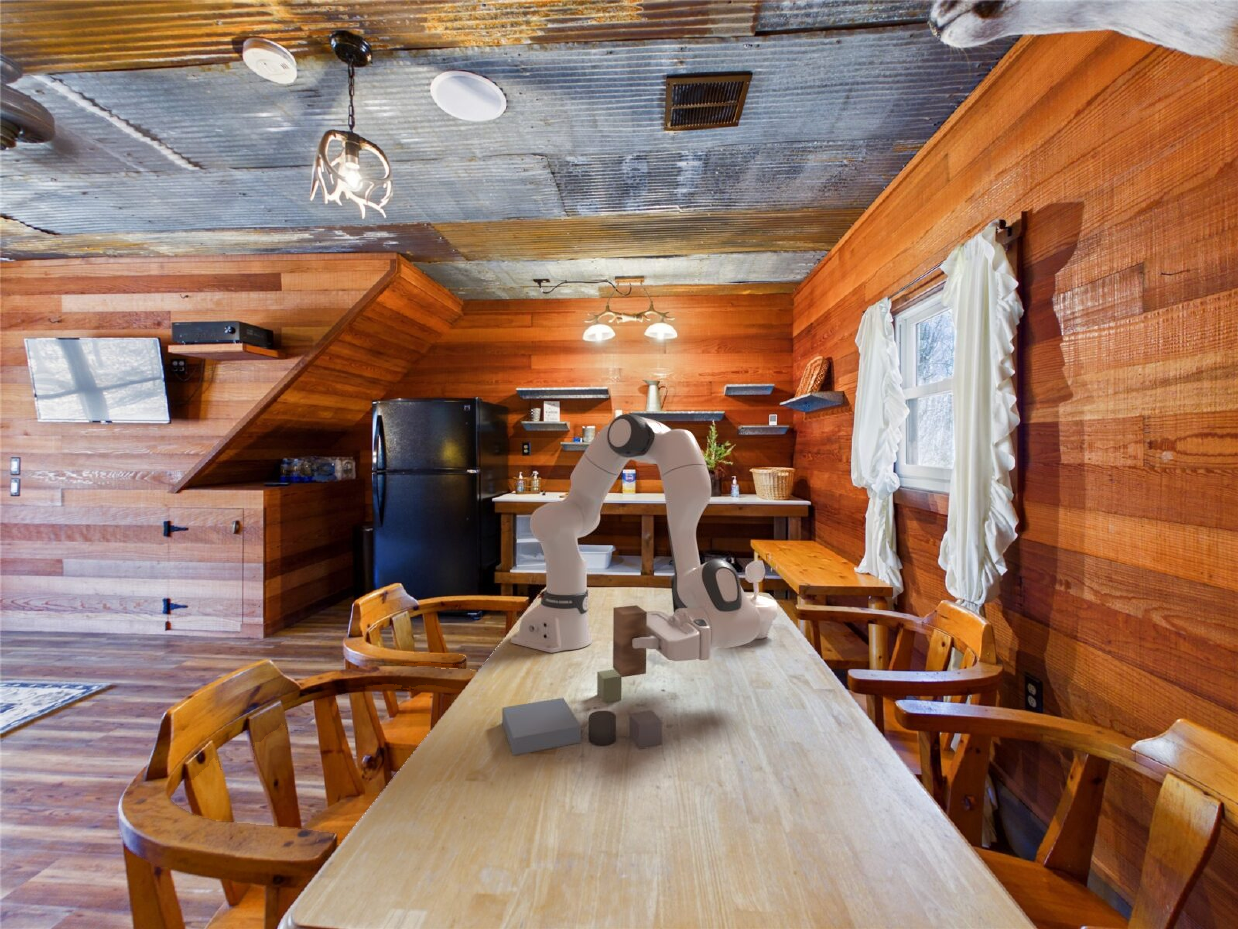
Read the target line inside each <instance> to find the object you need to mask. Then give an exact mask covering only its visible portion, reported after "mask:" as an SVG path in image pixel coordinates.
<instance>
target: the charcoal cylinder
mask: <svg viewBox="0 0 1238 929" xmlns="http://www.w3.org/2000/svg"><path fill="white" fill-rule="evenodd" d="M587 729H588V732H587V733H588V734H587V735H588V738H587V739H588V742H589V743H590V744H591V745H593V746H596V747H597V746H598V747H607V746H611V745H612V744H614V743H615V742H616V740H617V715H616V713H614V712H612V711H608V710H597V711H593V712H591V713H590V714H589V715H588V728H587Z"/></svg>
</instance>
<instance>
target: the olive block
mask: <svg viewBox="0 0 1238 929" xmlns="http://www.w3.org/2000/svg"><path fill="white" fill-rule="evenodd" d="M596 676H597V677H596V678H597V679H596V680H597V681H596V682H597V683H596V684H597V685H596V686H597V687H596V690H597V691H596V692H597V694H596V695H597V696H598V697H599V699H600V700H601V701H602V703H604V704H605V703H611V702H615V701H621V700H622V690H623V689H622V688H623V687H622V683H623V682H622V681H623V680H622V678H623V677H621V676H620V674H619V673H618V672H617V671H616V670H615V669H614V668H613V669H608V670H607V669H606V670H600V671H597V675H596Z"/></svg>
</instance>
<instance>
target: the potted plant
mask: <svg viewBox="0 0 1238 929" xmlns="http://www.w3.org/2000/svg"><path fill="white" fill-rule="evenodd" d="M768 558H769V560H768V561H771V559H772V557H771V554H769V556H768ZM775 568H776V571H777V570H778V568H779V567H778V564H775ZM770 571H771V573H772V571H773V567H772V566H771V568H770ZM744 572H745V574H744V576H745V577H744V578H745V581H747V582H748V583H752V585H753V595H746V596H747V598H748V599H749V601H750V602H752V603H753V604H754V605H755V606H756V607H757V609H758V611H759V613H760V617H761V626H760V631H759V633H758V635H757V637H756V638H755V639H754V640H759V639H765V638H767V637H768V636H769V633H770V630H771V627H772V624H773V621H774V620H776V619H777V617H778V603H777V601H775V600H774V599H770V598H769V597H766V596H762V595H759V593H760V590H759V584H758V583H761V582H762V581H763V579H764V578H765V575H766V569H765V564H764V562H763V560H753V561H751V562H749V563H748V564H747V565H746V567H745V571H744Z"/></svg>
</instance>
